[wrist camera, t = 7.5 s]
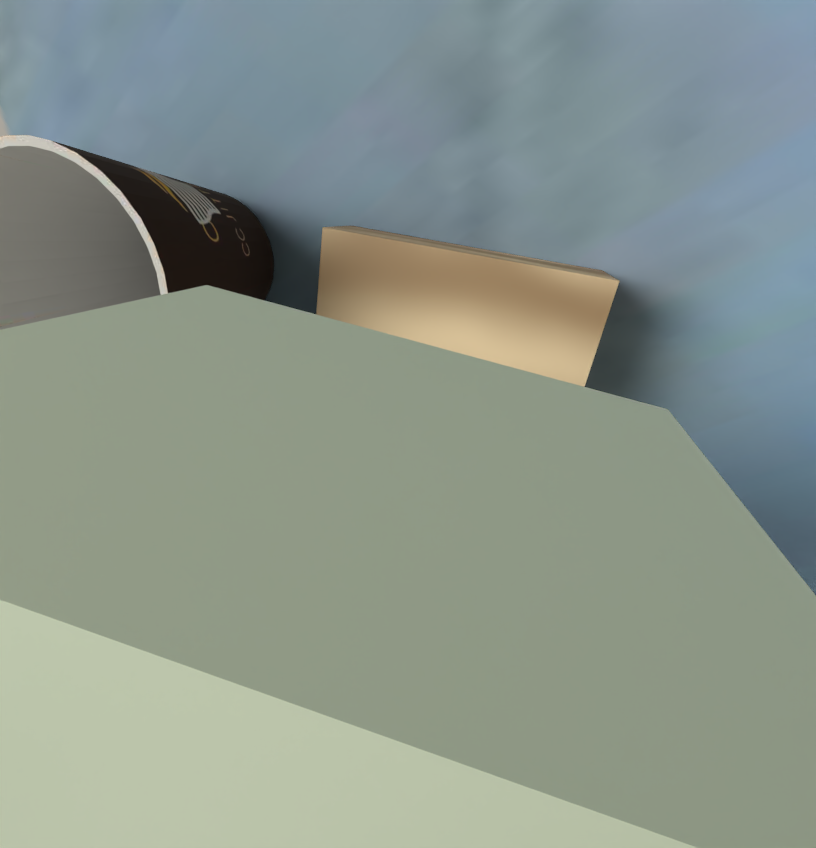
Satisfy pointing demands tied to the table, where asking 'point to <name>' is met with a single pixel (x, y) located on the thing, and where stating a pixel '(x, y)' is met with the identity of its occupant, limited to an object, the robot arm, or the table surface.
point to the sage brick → (376, 600)
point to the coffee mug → (113, 234)
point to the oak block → (467, 299)
